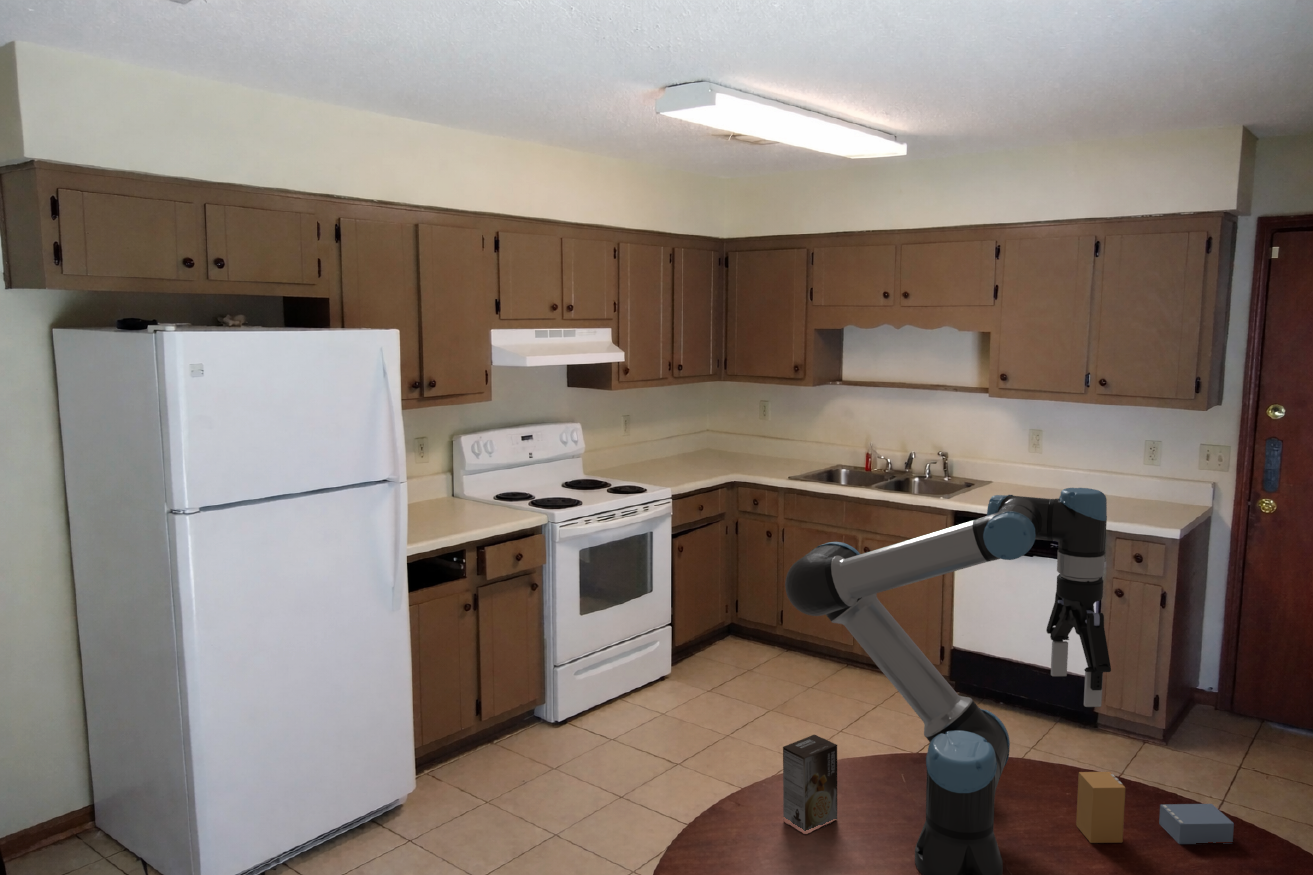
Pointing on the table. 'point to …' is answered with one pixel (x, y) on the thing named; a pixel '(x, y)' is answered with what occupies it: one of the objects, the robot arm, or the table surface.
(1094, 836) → the orange connector module
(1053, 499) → the robot arm
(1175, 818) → the grey connector module
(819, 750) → the coffee box
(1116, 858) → the table surface
